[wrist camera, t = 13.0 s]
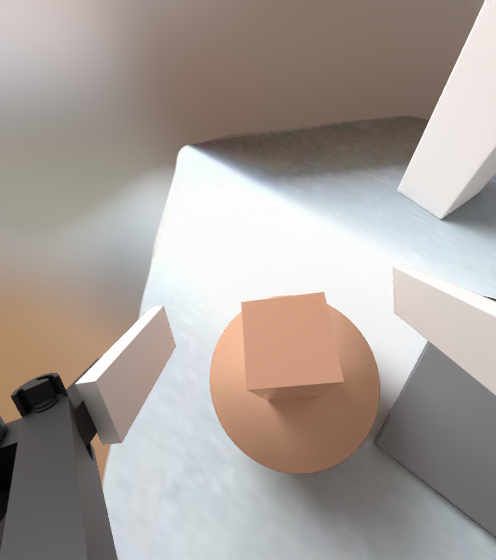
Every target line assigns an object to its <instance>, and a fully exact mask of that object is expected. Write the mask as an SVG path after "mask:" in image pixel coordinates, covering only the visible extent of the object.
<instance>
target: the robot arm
mask: <svg viewBox="0 0 496 560" xmlns="http://www.w3.org/2000/svg"><path fill="white" fill-rule="evenodd" d="M393 283H394V313H395V314H396V315H397V316H399V317H400V318H401V319H402V320H404V321H405V322H406V323H407V324H409V325H410V326H411V327H412V328H413V329H415V330H416V331H417V332H418V333H420V334H421V335H422V336H423V337H425V338H426V339H427V340H428V341H429V342H431V343H432V344H433V345H434V346H436V347H437V348H438V349H439V350H441V351H442V352H443V353H444V354H445V355H447V356H448V357H449V358H450V359H452V360H453V361H454V362H455V363H457V364H458V365H459V366H460V367H461V368H463V369H464V370H465V371H466V372H468V373H469V374H470V375H471V376H473V377H474V378H475V379H476V380H477V381H479V382H480V383H481V384H482V385H484V386H485V387H486V388H487V389H489V390H490V391H491V392H492V393H493V394H495V395H496V299H494V298H490V297H485V296H481V295H478V294H476V293H474V292H471V291H469V290H467V289H464V288H462V287H459V286H457V285H455V284H452V283H450V282H448V281H445V280H443V279H440V278H438V277H436V276H433V275H431V274H428V273H426V272H424V271H421V270H419V269H417V268H414V267H412V266H409V265H403V266H397V267H393ZM175 347H176V345H175V342H174V338H173V335H172V332H171V328H170V325H169V322H168V319H167V315H166V312H165V309H164V306H158V307H152V308H150V309H149V310H148V311H147V312H146V313H145V314H144V315H143V316H142V317H141V318H140V319H139V320H138V321H137V322H136V323H135V324H134V325H133V327H131V328H130V329H129V330H128V331H127V332H126V333H125V334H124V335H123V336H122V338H120V339H119V340H118V341H117V342H116V343H115V344H114V346H112V347H111V349H109V351H107V352H106V353H105V354H104V355H103V356H102V357H100V358H99V359H97V360H96V361H95V362H94V363H93V364H92V365H91V366H90V367H89V369H87V370H86V371H85V372H84V373H83V375H81V376H80V377H79V378H78V379H77V380H76V381H75V382H74V383H73V384H72V385H71V386H70V387H69V388H68V389H67V390H66V389H65V387H64V385H63V383H62V381H61V379H60V377H59V375H58V374H57V373H49V374H45V375H42V376H39V377H36V378H34V379H32V380H30V381H28V382H27V383H25V384H24V385H22V386H20V387H19V388H18V389H17V390H16V391H14V392H13V394H12V395H11V398H12V400H13V402H14V403H15V405H16V407H17V409H18V411H19V412H20V414H21V416H22V418H21V419H18V420H15V421H12V422H9V423H6V424H5V423H4V422H3V420H2V418H1V417H0V560H117V555H116V550H115V546H114V541H113V536H112V532H111V527H110V522H109V518H108V513H107V508H106V504H105V499H104V494H103V490H102V485H101V480H100V476H99V471H98V466H97V462H96V457H95V452H94V449H93V446H92V444H91V440H92V439H93V437H94V436H95V435H96V433H97V434H98V436H99V438H100V440H101V442H102V445H105V444H114V443H122V441H123V440H124V438H125V436H126V434H127V432H128V431H129V429H130V427H131V425H132V424H133V422H134V420H135V418H136V416H137V415H138V413H139V411H140V409H141V407H142V406H143V404H144V402H145V400H146V399H147V397H148V395H149V393H150V391H151V390H152V388H153V386H154V384H155V383H156V381H157V379H158V377H159V375H160V374H161V372H162V370H163V368H164V367H165V365H166V363H167V361H168V359H169V358H170V356H171V354H172V352H173V350H174V349H175Z"/></svg>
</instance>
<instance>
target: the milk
mask: <svg viewBox="0 0 496 560" xmlns="http://www.w3.org/2000/svg"><path fill="white" fill-rule="evenodd" d="M495 173H496V0H485V2H484V5H483V6H482V9H481V11H480V13H479V15H478V17H477V19H476V22H475V24H474V26H473V28H472V30H471V32H470V34H469V37H468V39H467V41H466V43H465V45H464V47H463V50H462V52H461V54H460V56H459V58H458V60H457V63H456V65H455V67H454V69H453V71H452V74H451V75H450V78H449V80H448V82H447V84H446V86H445V88H444V90H443V93H442V95H441V97H440V99H439V101H438V103H437V106H436V108H435V110H434V112H433V114H432V116H431V118H430V121H429V123H428V125H427V127H426V129H425V131H424V134H423V136H422V138H421V140H420V142H419V144H418V146H417V149H416V151H415V153H414V155H413V157H412V159H411V162H410V164H409V166H408V168H407V170H406V172H405V174H404V177H403V179H402V181H401V183H400V185H399V187H398V190H397V191H398V192H400V193H401V194H403V195H404V196H406V197H407V198H409V199H410V200H412V201H413V202H415V203H416V204H418V205H419V206H421V207H422V208H424V209H425V210H427V211H428V212H430V213H431V214H433V215H434V216H436V217H437V218H439V219H442V218H444V217H445V216H447V215H448V214H450V213H451V212H452V211H454V210H455V209H457V208H458V207H460V206H461V205H462V204H464V203H465V202H467V201H468V200H470V199H471V198H472V197H474V196H475V195H477V194H478V193H479V192H480V191H481V190H482V189H483V187H484V186H485V185H486V184H487V183H488V181H489V180H490V179H491V178H492V177H493V176H494V174H495Z"/></svg>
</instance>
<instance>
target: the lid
mask: <svg viewBox="0 0 496 560" xmlns="http://www.w3.org/2000/svg"><path fill="white" fill-rule="evenodd" d="M241 304H242V312H241V313H240V314H238V315H237V316H236V317H235V318H234V319H233V320H232V321H231V322H230V324H229V325H228V326H227V328H226V329H225V330H224V332H223V334H222V335H221V337H220V339H219V341H218V343H217V345H216V348H215V351H214V354H213V357H212V362H211V368H210V391H211V396H212V402H213V405H214V408H215V411H216V414H217V416H218V419H219V421H220V423H221V425H222V427H223V428H224V430H225V432H226V433H227V435H228V436H229V437H230V438H231V440H232V441H233V442H234V443H235V445H236V446H237V447H238V448H240V449H241V450H242V451H243V452H244V453H245V454H246V455H248V456H249V457H250V458H252V459H253V460H255V461H256V462H258V463H260V464H262V465H264V466H266V467H268V468H271V469H274V470H277V471H281V472H286V473H292V474H307V473H315V472H319V471H323V470H326V469H329V468H331V467H333V466H335V465H337V464H339V463H341V462H342V461H344V460H345V459H347V458H348V457H349V456H351V455H352V454H353V453H354V452H355V451H356V450H357V449H358V448H359V447H360V446H361V444H362V443H363V442H364V440H365V439H366V437H367V436H368V434H369V432H370V430H371V428H372V426H373V424H374V421H375V418H376V415H377V411H378V406H379V400H380V382H379V374H378V369H377V365H376V361H375V359H374V356H373V353H372V351H371V349H370V347H369V345H368V343H367V341H366V340H365V338H364V337H363V335H362V334H361V332H360V331H359V330H358V329H357V327H356V326H355V325H354V324H353V323H352V322H351V321H350V320H349V319H348V318H347V317H346V316H344V315H343V314H342V313H340V312H339V311H338V310H336V309H334V308H333V307H331V306H329V305H327V304H326V299H325V295H324V292H321V293H313V294H305V295H297V296H290V295H289V296H278V297H272V298H268V299H264V300H256V301H247V302H241Z"/></svg>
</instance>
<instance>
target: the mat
mask: <svg viewBox="0 0 496 560" xmlns="http://www.w3.org/2000/svg"><path fill="white" fill-rule="evenodd" d="M374 443H375V444H376V445H377V446H379V447H380V448H381V449H383V450H384V451H385V452H386V453H388V454H389V455H390V456H392V457H393V458H394V459H395V460H397V461H398V462H399V463H401V464H402V465H403V466H404V467H406V468H407V469H408V470H410V471H411V472H412V473H413V474H415V475H416V476H417V477H419V478H420V479H421V480H422V481H424V482H425V483H426V484H428V485H429V486H430V487H431V488H433V489H434V490H435V491H437V492H438V493H439V494H440V495H442V496H443V497H444V498H446V499H447V500H448V501H449V502H451V503H452V504H453V505H455V506H456V507H457V508H458V509H460V510H461V511H462V512H464V513H465V514H466V515H467V516H469V517H470V518H471V519H473V520H474V521H475V522H476V523H478V524H479V525H480V526H482V527H483V528H484V529H485V530H487V531H488V532H489V533H491V534H492V535H493V536H494V537H496V395H495V394H493V393H492V392H491V391H490V390H489V389H487V388H486V387H485V386H484V385H482V384H481V383H480V382H479V381H477V380H476V379H475V378H474V377H473V376H471V375H470V374H469V373H468V372H466V371H465V370H464V369H463V368H461V367H460V366H459V365H458V364H457V363H455V362H454V361H453V360H452V359H450V358H449V357H448V356H447V355H445V354H444V353H443V352H442V351H441V350H439V349H438V348H437V347H436V346H434V345H433V344H432V343H431V342H429V341H428V342H427V344H426V346H425V348H424V350H423V351H422V353H421V355H420V357H419V359H418V361H417V363H416V365H415V367H414V368H413V370H412V372H411V374H410V376H409V378H408V380H407V382H406V384H405V385H404V387H403V389H402V391H401V393H400V395H399V397H398V399H397V401H396V402H395V404H394V406H393V408H392V410H391V412H390V414H389V416H388V418H387V419H386V421H385V423H384V425H383V427H382V429H381V431H380V433H379V435H378V436H377V438H376V440H375V442H374Z"/></svg>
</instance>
